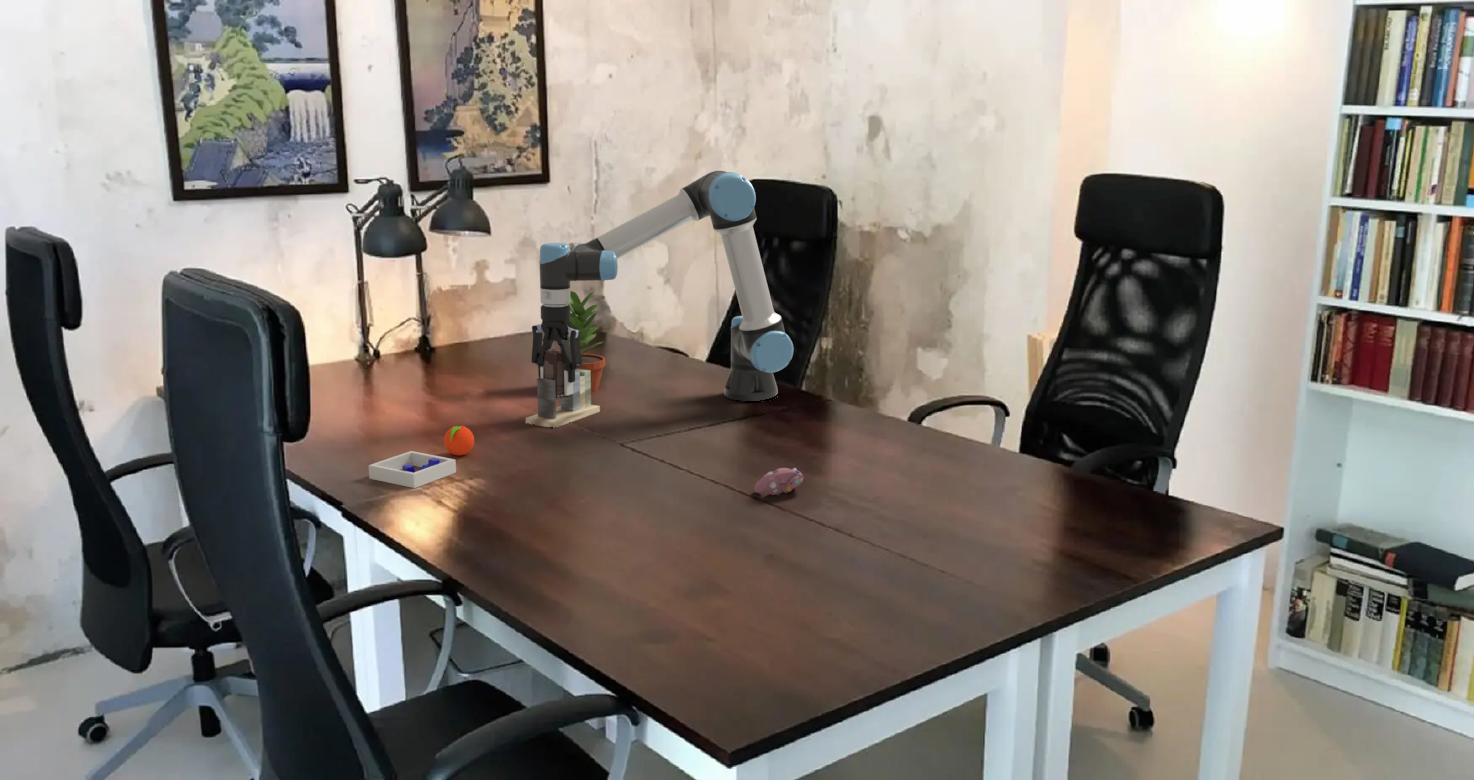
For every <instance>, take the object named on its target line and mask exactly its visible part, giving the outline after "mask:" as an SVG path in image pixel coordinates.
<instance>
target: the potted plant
mask: <svg viewBox="0 0 1474 780" xmlns="http://www.w3.org/2000/svg"><path fill="white" fill-rule="evenodd" d="M596 290H597V289H595V291H593V292H590V293H589V294H587V296H586V297H584V299H583V300H582V301H581V299H580V297H579V295H578V294H577V292H575V291H572V290H570V303H569V304H568V305H570V313H571V318H570V321H569V323H570V326H571V328H573V329H575V330H577V329H579V330H580V336H579V342H580V352H581V362H582V367H580V368H577V369H583V370H590V371H591V393H593V392H596V391H598V390H599V387H600V383H601V379H602V375H603V371H604V368H605V366H606V357H604V356H602V355H599V354H593V353H586V352H588V351H589V350H591V349H593V348H595V347H597V346H599V345H600V344H602V343H603V341H598V342H595V343H593V344H592V345H589V346H587V344H588V343H590V342H591V341H592V340H593V339H594V338H595V337H596V336H597V333H594V332H595V331H597V330H598V329H599V327H600V324H599V325H598V326H592V324H593V320H594V319H595V318H596V316H597V313H598V312H599V310H597V311H596V309H597V307H599V306H600V304H593V305H590V306H589V307H588V308H586V309H585V307H584V306H585V305H586V304H587V302H589V300H590V298H591V297H592V296H593V294H595V292H596ZM593 333H594V334H593ZM568 337H569V334H568ZM563 341H564V340H563ZM569 341H570V337H569ZM569 345H570V342H569ZM583 349H584V350H583ZM575 370H576V369H575Z"/></svg>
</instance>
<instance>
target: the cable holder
mask: <svg viewBox="0 0 1474 780" xmlns="http://www.w3.org/2000/svg"><path fill="white" fill-rule="evenodd" d="M439 463H440V460H439V459H436V458H432V459H429V461H428V464H425V465H423V466H422V467H419V469H418V470H415V466H412V465H410V464H407V465H403V466H402V467H403V469H402V470H403V471H408V472H413V473H414V472H417V471H420V470H422V469H425V468H428V467H431V466H434V465H436V464H439Z"/></svg>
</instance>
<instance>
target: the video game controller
mask: <svg viewBox="0 0 1474 780" xmlns="http://www.w3.org/2000/svg"><path fill="white" fill-rule="evenodd" d="M804 479H805V477H804V474H802V472H801V471H800V470H797V468H796V467H793V468H792V469H791V468H789V467H788V468H787V467H780V468H777V469H774V470H773V471H768V472H767V473H766V474H763V476H762V477H761V478H760V479H759V480H758V481H757V482H756V483H754V484H755V485H754V491H755V493H756V494H760V495H761V494H762V493H765V492H766V491H768V492H769V493H770V495H772V496H775V495H777V494H779V493H780V491H781V489H782V491H783V492H784V493H785V494H787V493H788V492H789V493H790V492H792V490H794V489H795V488H797V487H798V486H800V485H801V484H802V483H803V482H804ZM781 484H782V485H781ZM780 485H781V487H780Z"/></svg>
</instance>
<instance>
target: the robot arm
mask: <svg viewBox="0 0 1474 780" xmlns="http://www.w3.org/2000/svg"><path fill="white" fill-rule="evenodd" d="M755 191H756V190H755V188H754V187H753V184H752V183H751V181H749V180H748V179H747V178H746V177H744V176H743V175H742V174H740V173H736V172H730V171H724V170H714V171H711V172H708V173H706V174H705V175H703V176H701V177H699V178H697V179H696V180H694V181H692V182H691V183H689V184H687V185H685V186H684V187H682V188H680V190H679V192H678V194H677V195H675V196H673V197H671V198H670V199H667V200H665V201H663V202H662V203H659V204H657V205H656V206H655V207H652V208H650V209H649V210H646V211H645V212H642V213H641V214H638V215H637V216H635V217H633V218H631V219H629V220H628V221H625V222H624V223H622V224H620V225H618V226H616V227H614V228H612V229H610V230H608V231H607V232H605V233H603V234H601V235H599V236H597V237H596V238H594V239H592V240H590V241H588V242H586V243H585V242H584V243H579V244H577V245H575V246H574V247H572V249H571V248H570V245H569V243H565V242H548V243H547V242H546V243H543V244H542V245H541V246H540V248H539V261H538V262H539V263H538V264H539V285H540V287H539V288H540V304H541V306H540V319H541V324H535V325H532V326H531V331H532V349H531V363H532V364H535V365H537V367H538V368H537V369H538V378H543V379H544V355H545V351H546V350H549V349H552V346H553V343H554V342H557V345H558V346H559V347H560V350H561V351H562V355H563V358H564V361H565V365H566V368H567V369H565V370H564V392H565V395H566V396H567V395H570V394H573V382H575V369H577V368H580V367H582V362H581V353H582V351H581V352H580V342H579V336H580V330H579V329H577V330H575V329H573V328H571V326H570V323H569V321H570V318H571V313H572V312H571V310H570V305H568V304H569V303H570V291H571V282H572V281H573V282H577V281H581V282H582V281H586V282H588V281H589V282H590V281H602V282H605V281H612V280H615V279H616V277H617V276H618V268H619V267H618V266H619V265H618V259H620V258H622V257H624V256H625V255H628V254H630V253H631V252H634V251H635V250H638V249H639V248H641V247H642V246H645V245H646V244H648V243H651V242H652V241H654V240H656V239H658V238H660V237H662V236H664V235H666V234H667V233H669V232H671V231H673V230H675V229H676V228H679V227H681V226H683V225H684V224H686V223H688V222H691V221H694V222H699V221H700V220H702V219H705V218H707V217H709V218H710V220H711V225H712V228H713V230H714V231H715V232H717V233H718V234H720V236H721V240H722V243H723V247H724V252H725V254H726V259H727V263H728V266H729V271H730V274H731V277H732V282H733V286H734V289H735V290H734V291H735V294H736V297H737V302H738V304H739V310H740V312H741V315H739V316H734V317H732V319H731V326H730V332H731V333H730V335H731V336H730V370H729V373H728V377H727V379H726V383H725V385H724V388H723V389H724V391H723V394H724V395H725V396H726V397H728V398H730V399H729V400H732V399H734V400H733V401H736V400H740V401H739V402H745V401H760V400H765V399H769V398H772V397H774V396H776V395H777V394H778V393H779V391H778V385H777V382H776V379H775V376H774V373H776V372H777V373H778V372H779V371H781V370H783V369H785V368H786V367H787V366H788V365H789V364H790V362H791V360H792V358H793V355H794V344H793V341H792V340H791V338H790V336H789V335H788V334H787V333H786V331H785V327H784V322H783V318H782V316H781V315H780V314H778V313H776V312H775V309H774V307H773V302H772V298H771V294H770V289H769V286H768V282H767V277H766V273H765V271H764V270H765V269H764V266H763V262H762V257H761V254H760V250H759V246H758V242H757V241H758V240H757V238H756V234H755V230H754V224H755V223H756V221H757V219H758V218H757V213H756V211H755V205H756V200H757V197H756V192H755ZM543 333H544V335H543ZM568 334H569V337H570V341H569V337H568ZM563 340H564V341H563ZM569 342H570V345H569ZM724 395H723V396H724ZM725 396H724V397H725ZM726 397H725V398H726ZM728 398H727V399H728Z"/></svg>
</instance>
